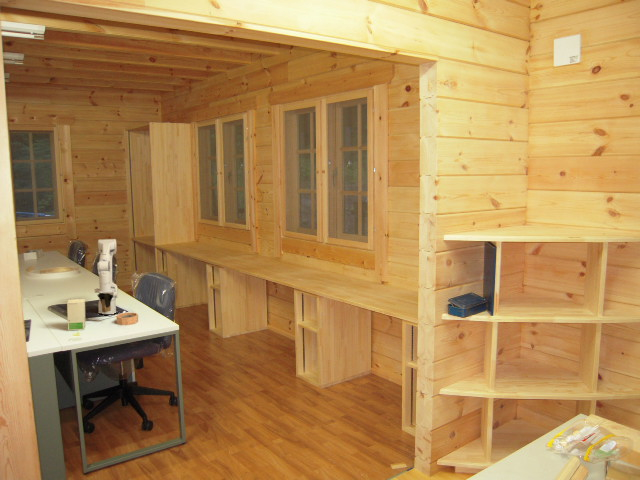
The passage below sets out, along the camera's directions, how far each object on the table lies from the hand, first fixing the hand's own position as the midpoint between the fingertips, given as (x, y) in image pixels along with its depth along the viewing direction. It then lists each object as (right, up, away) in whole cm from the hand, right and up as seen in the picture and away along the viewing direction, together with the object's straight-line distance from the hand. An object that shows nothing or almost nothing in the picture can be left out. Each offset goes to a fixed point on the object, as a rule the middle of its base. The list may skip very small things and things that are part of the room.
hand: (106, 306), depth 300 cm
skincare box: (-12, -11, -9) cm, 19 cm away
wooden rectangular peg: (0, -3, 0) cm, 3 cm away
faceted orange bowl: (+11, -9, +3) cm, 14 cm away
